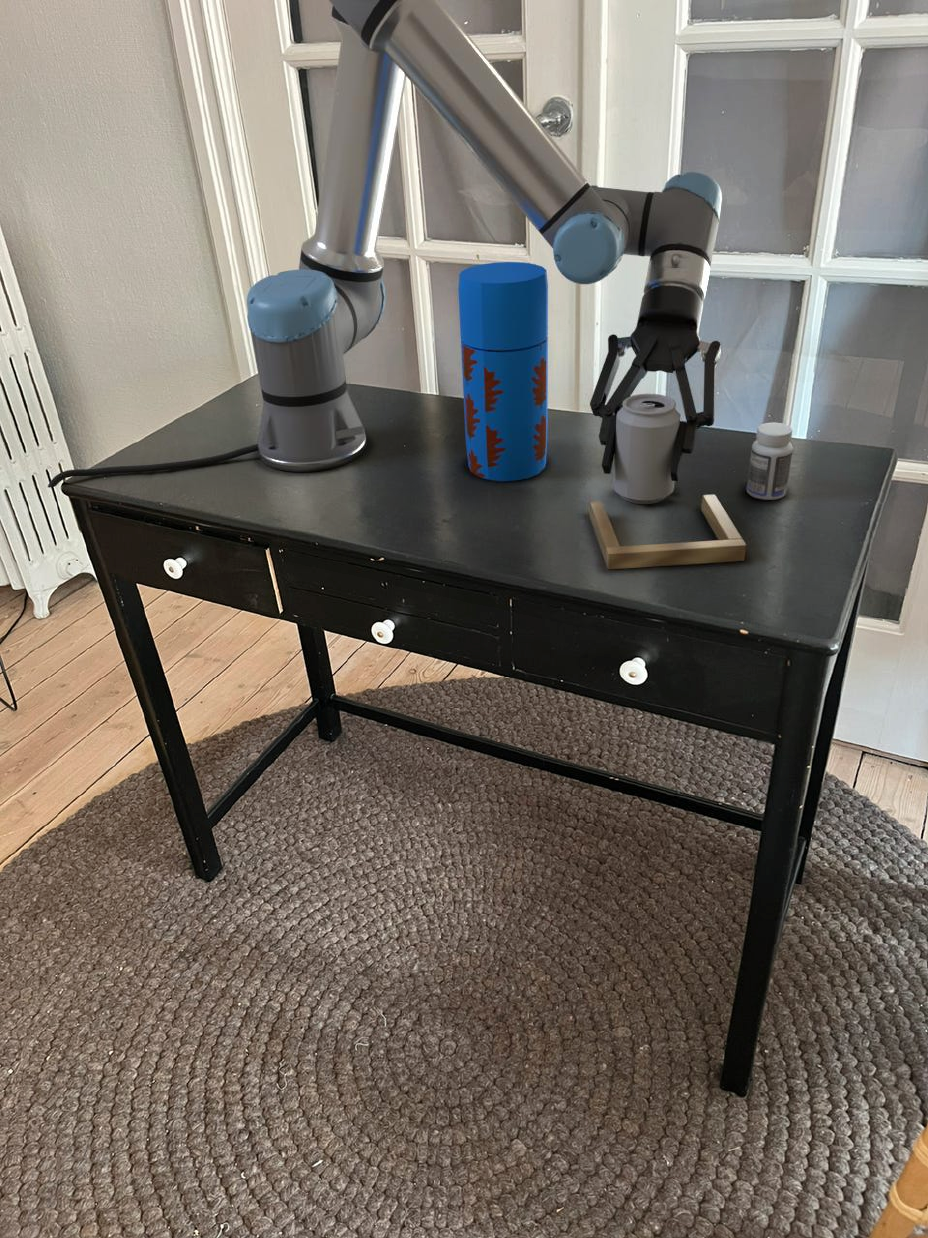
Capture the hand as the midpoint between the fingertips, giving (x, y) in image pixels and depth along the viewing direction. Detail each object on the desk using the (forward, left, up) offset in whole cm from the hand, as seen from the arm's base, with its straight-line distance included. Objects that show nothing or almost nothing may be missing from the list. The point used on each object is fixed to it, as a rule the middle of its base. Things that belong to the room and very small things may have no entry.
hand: (639, 473), depth 110 cm
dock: (+1, -8, -4) cm, 9 cm away
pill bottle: (+16, +1, -5) cm, 17 cm away
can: (+1, +3, -5) cm, 6 cm away
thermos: (-15, +14, -5) cm, 21 cm away
